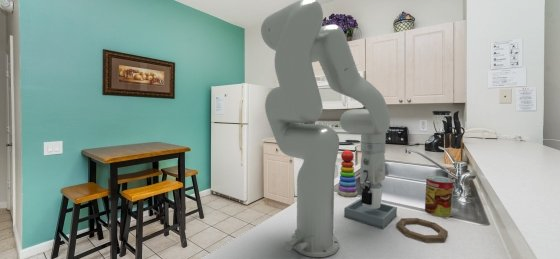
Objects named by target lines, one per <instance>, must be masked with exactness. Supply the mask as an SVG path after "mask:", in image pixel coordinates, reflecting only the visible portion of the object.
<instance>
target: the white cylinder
mask: <svg viewBox="0 0 560 259" xmlns="http://www.w3.org/2000/svg"><path fill="white" fill-rule="evenodd" d="M368 182H369V183H370V181H368ZM366 186H368V188H369V185H367V184H366ZM383 189H384V186H383V184H382V183H381V184H376V185H372V189H371V193H372V205H367V204H364V203H362V205H363V206H364V207H366V208H371V209H377V208H380V205H381V203H382V196H383Z"/></svg>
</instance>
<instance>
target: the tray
mask: <svg viewBox="0 0 560 259" xmlns="http://www.w3.org/2000/svg"><path fill="white" fill-rule="evenodd" d="M397 210H398V207H397V206H394V205H391V204H390V205H389V204H386V203H382V202H381V205H380V208H377V209H371V208H366V207H364V206H363V205H362V197H361V198H359V199H357V200H355V201H354V202H351V204H349V205H347V206H345V207H344V215H343V217H344V218H347V219H350V220H353V221H355V222H359V223H362V224H366V225H369V226H372V227H375V228H379V229H381V230H383V229H385V228H386V227H387V226H388V225H389V224H390V223H391V222H392V221H393V220H394V219H395V218H397V215H398V214H397V213H398V212H397Z"/></svg>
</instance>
